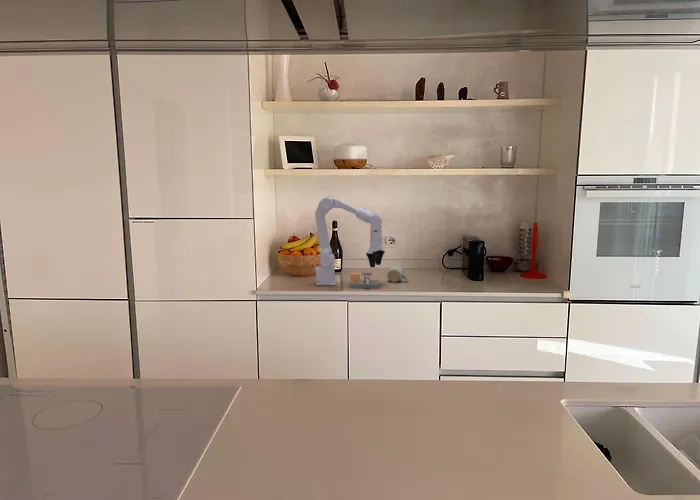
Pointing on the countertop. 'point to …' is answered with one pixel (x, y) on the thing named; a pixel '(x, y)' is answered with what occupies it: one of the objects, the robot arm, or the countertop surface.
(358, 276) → the orange cube
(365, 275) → the lever handle
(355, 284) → the box
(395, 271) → the ceramic mug
